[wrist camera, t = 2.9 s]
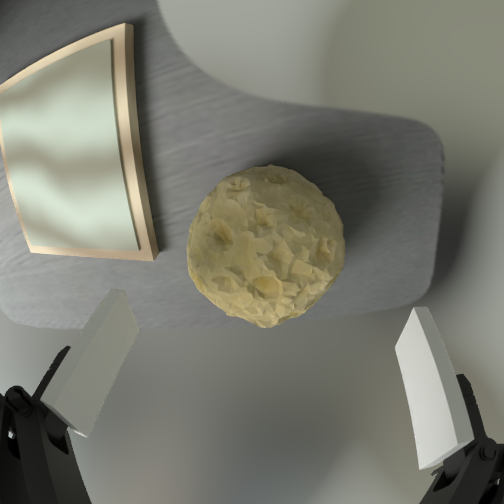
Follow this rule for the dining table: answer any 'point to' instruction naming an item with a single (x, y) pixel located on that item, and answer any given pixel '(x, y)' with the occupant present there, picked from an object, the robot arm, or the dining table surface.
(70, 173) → the board
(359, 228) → the dining table surface
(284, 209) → the decorative item
